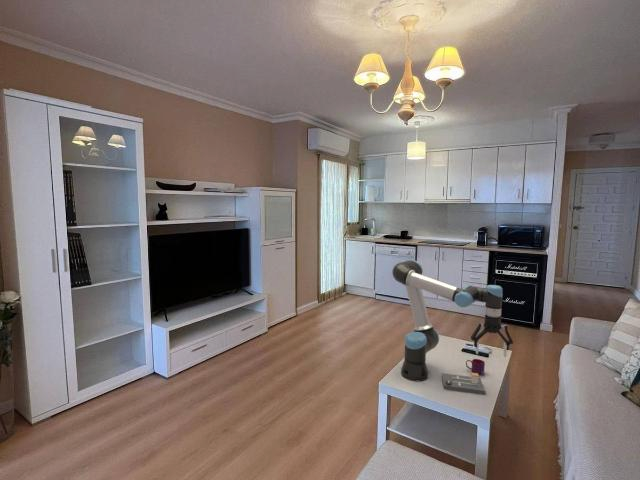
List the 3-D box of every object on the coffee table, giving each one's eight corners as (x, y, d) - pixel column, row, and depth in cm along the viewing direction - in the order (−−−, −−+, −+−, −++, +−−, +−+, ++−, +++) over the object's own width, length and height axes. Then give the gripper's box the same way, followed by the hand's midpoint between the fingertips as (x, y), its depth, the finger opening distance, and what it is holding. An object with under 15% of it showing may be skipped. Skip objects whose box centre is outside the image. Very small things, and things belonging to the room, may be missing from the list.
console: (443, 389, 184) (444, 383, 184) (441, 376, 198) (442, 371, 197) (484, 394, 179) (485, 388, 179) (480, 381, 192) (480, 375, 192)
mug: (482, 376, 197) (483, 365, 197) (464, 371, 204) (464, 360, 203) (485, 372, 203) (486, 361, 202) (467, 367, 209) (468, 356, 208)
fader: (471, 383, 185) (471, 375, 185) (470, 380, 188) (471, 372, 188) (478, 384, 185) (478, 375, 184) (477, 381, 187) (477, 373, 187)
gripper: (468, 315, 180) (466, 354, 183) (521, 319, 174) (518, 360, 177) (466, 311, 188) (464, 348, 190) (517, 314, 182) (514, 354, 184)
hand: (490, 354), depth 183 cm, fingers open, 13 cm apart
